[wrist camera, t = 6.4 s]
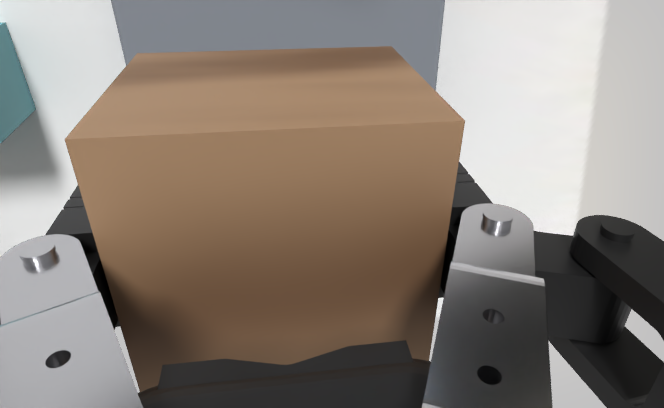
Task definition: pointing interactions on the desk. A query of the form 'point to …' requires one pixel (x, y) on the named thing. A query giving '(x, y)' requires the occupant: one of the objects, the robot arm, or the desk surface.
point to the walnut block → (268, 202)
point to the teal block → (12, 87)
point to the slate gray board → (283, 27)
